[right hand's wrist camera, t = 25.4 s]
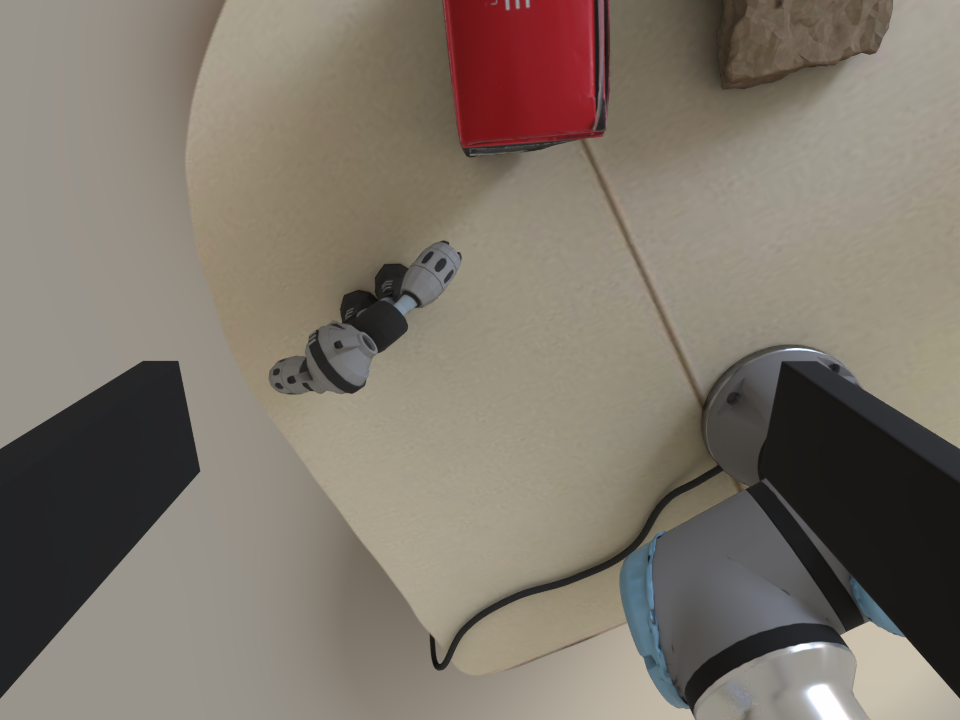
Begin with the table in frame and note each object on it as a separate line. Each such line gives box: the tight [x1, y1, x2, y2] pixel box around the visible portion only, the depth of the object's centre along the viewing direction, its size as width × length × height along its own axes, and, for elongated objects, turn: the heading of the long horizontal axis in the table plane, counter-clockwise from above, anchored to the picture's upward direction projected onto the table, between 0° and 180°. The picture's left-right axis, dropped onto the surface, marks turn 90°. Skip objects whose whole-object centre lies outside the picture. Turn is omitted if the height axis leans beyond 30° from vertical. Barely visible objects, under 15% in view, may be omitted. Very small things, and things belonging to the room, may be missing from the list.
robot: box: [269, 240, 462, 395], centre depth 44 cm, size 20×5×20 cm, turn 126°
